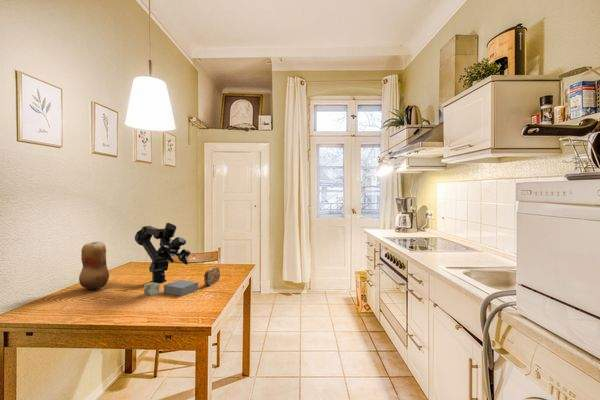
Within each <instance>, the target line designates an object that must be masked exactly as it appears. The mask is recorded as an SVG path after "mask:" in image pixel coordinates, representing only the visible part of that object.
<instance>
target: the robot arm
mask: <svg viewBox="0 0 600 400" xmlns="http://www.w3.org/2000/svg"><path fill="white" fill-rule="evenodd" d="M176 230H177V226H176V225H175V224H173V223H171V222H166V223H165V227H164V228H157V227H154V226H151V225H144V226H142V227H141V228H140V230H138V231H137V232H136V233H135V235H134V241H135V242H136V244H138V245H139V246H142V247H143V249H144V250H145V251H146V254H147V255H148V256H149V258H150V259H151V264H150V265H149V267H148V269H149V272H150V273H151V274H152V275H151V277H152V278H151V279H152V280H150V281H149V283H151V282H154V283H159V284H161V283H164V282H167V279H166V274H165V272H166V271H168V268H169V264H170V263H169V262H171V263H175V260H174V259H175V258H174V257H177V258H178V260H179V261H180V262H181V263H183V264H184V265H186V266H187V265H188V263H189V260H188V257H189V256H190V255H191V251H190V250H189V249H185V248H183V249H181V246H185V245H186V244H187V240H186V239H185V238H184V237H180V236H177V237H175V233H176ZM152 237H153V238H154V239H155V240H159V247H158V249H156V248H155V246H154V245H153V243H152V242H151V239H152ZM174 237H175V238H174ZM172 238H174V239H172ZM180 249H181V251H179V250H180Z"/></svg>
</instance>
